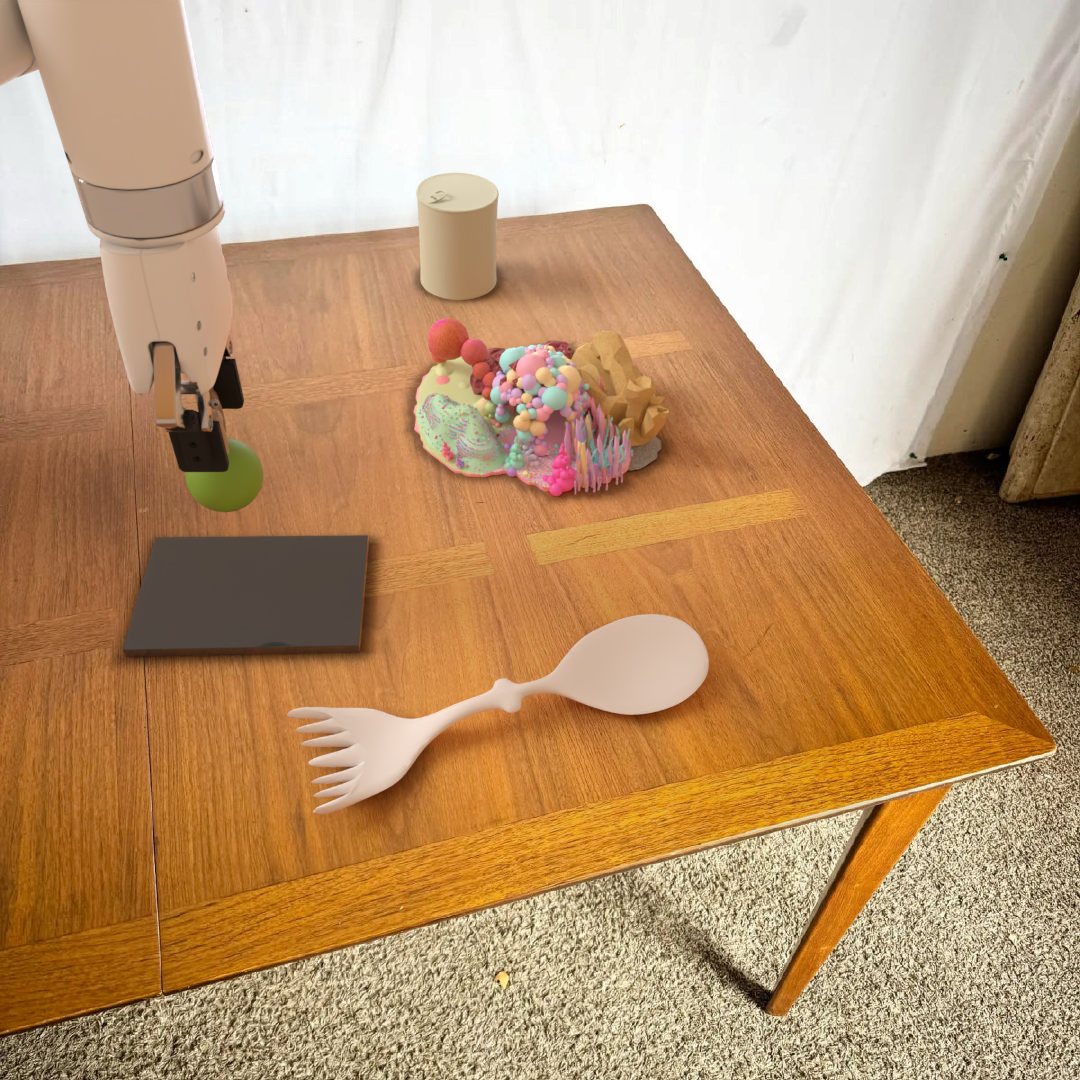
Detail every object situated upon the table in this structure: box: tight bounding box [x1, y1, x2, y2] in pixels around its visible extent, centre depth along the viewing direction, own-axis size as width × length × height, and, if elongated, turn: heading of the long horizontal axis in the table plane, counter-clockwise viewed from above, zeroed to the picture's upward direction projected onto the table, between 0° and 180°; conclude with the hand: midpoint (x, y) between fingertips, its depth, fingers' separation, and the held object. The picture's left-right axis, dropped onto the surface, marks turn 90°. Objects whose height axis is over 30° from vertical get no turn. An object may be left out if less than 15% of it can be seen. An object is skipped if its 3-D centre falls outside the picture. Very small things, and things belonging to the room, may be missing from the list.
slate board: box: [122, 534, 370, 658], centre depth 79 cm, size 18×12×2 cm, turn 94°
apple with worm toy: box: [184, 387, 264, 513], centre depth 68 cm, size 5×6×12 cm
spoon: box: [286, 613, 710, 815], centre depth 72 cm, size 9×32×4 cm, turn 112°
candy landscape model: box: [413, 317, 670, 497], centre depth 94 cm, size 25×24×9 cm
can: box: [415, 172, 499, 301], centre depth 110 cm, size 9×9×12 cm
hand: (213, 434), depth 67 cm, fingers closed on apple with worm toy, 6 cm apart
